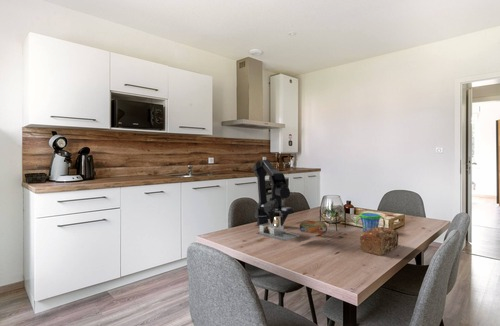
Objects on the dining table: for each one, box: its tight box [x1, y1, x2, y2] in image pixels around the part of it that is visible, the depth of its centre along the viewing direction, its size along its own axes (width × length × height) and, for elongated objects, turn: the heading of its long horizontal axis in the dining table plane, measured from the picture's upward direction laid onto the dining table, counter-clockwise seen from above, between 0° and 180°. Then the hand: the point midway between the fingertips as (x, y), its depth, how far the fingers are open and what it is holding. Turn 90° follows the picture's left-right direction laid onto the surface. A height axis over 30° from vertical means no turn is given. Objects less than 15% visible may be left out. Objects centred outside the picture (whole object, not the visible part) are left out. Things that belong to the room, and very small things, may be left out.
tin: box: [299, 219, 328, 238], centre depth 157 cm, size 15×3×8 cm, turn 62°
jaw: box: [270, 216, 285, 235], centre depth 154 cm, size 3×8×9 cm, turn 134°
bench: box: [256, 222, 302, 242], centre depth 153 cm, size 20×14×6 cm
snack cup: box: [355, 212, 386, 233], centre depth 164 cm, size 16×10×10 cm
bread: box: [359, 226, 399, 256], centre depth 134 cm, size 19×11×10 cm, turn 131°
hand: (276, 224), depth 154 cm, fingers open, 7 cm apart
